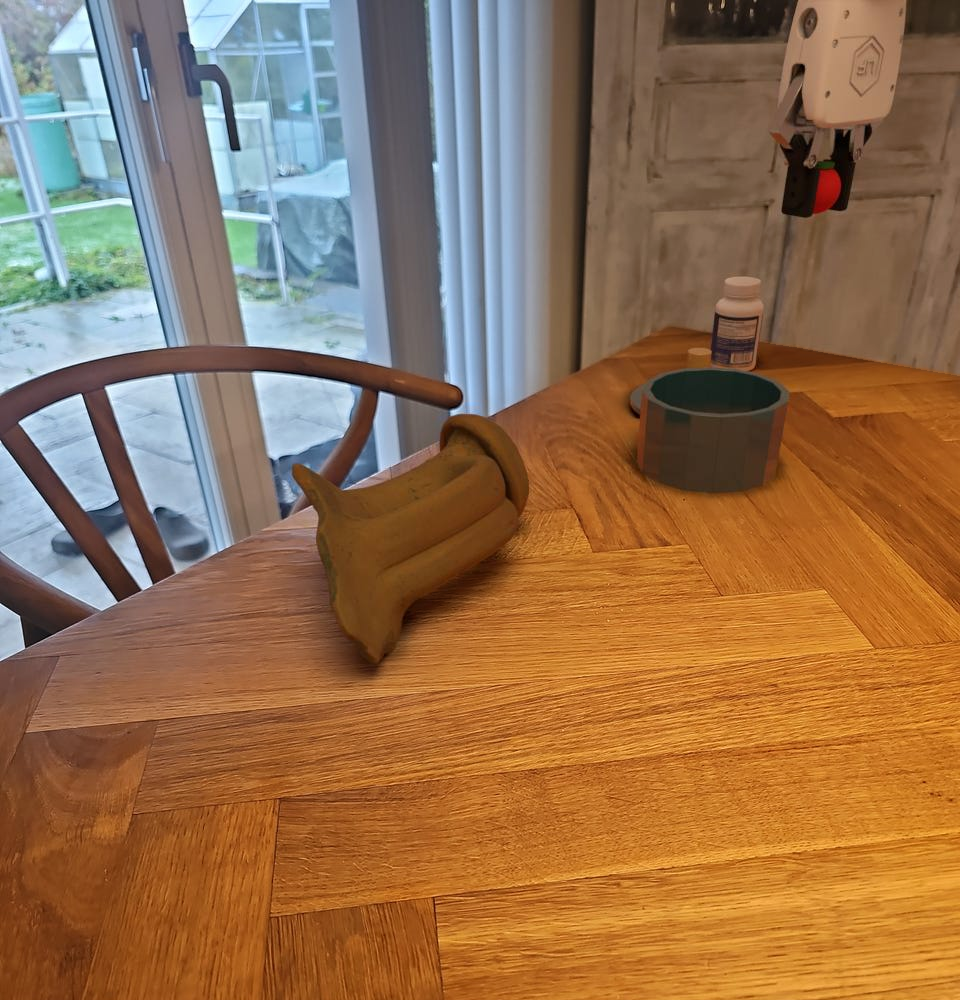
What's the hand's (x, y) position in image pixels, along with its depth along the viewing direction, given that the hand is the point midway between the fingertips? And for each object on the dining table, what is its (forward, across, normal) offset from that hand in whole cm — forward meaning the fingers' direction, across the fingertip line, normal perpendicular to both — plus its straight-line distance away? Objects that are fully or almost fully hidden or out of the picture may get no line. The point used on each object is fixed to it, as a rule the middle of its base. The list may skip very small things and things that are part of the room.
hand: (814, 210), depth 81 cm
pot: (+19, -16, -6) cm, 26 cm away
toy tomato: (0, 0, 0) cm, 0 cm away
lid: (+19, -6, +6) cm, 21 cm away
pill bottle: (+20, +7, +13) cm, 25 cm away
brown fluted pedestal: (+20, -48, -8) cm, 53 cm away
